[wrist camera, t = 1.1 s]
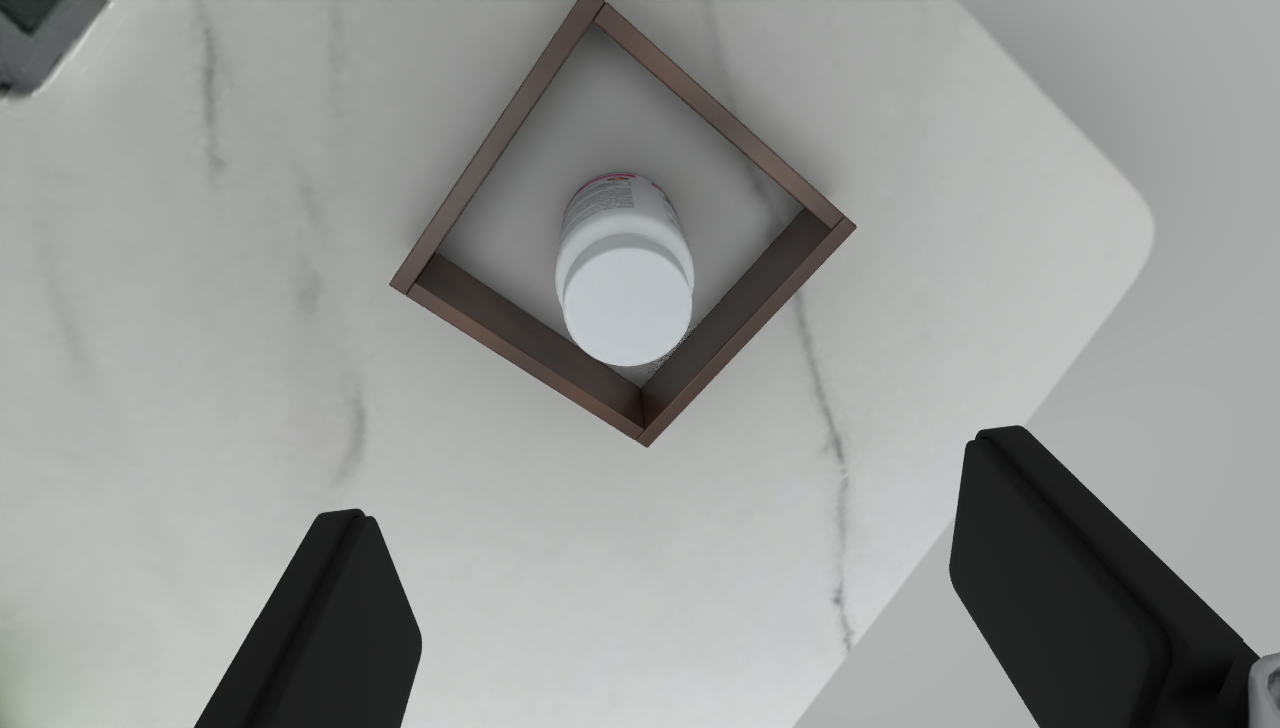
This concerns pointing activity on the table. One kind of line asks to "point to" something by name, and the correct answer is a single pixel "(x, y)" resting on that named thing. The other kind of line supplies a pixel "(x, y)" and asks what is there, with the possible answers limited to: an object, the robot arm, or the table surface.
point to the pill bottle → (624, 271)
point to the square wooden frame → (557, 357)
